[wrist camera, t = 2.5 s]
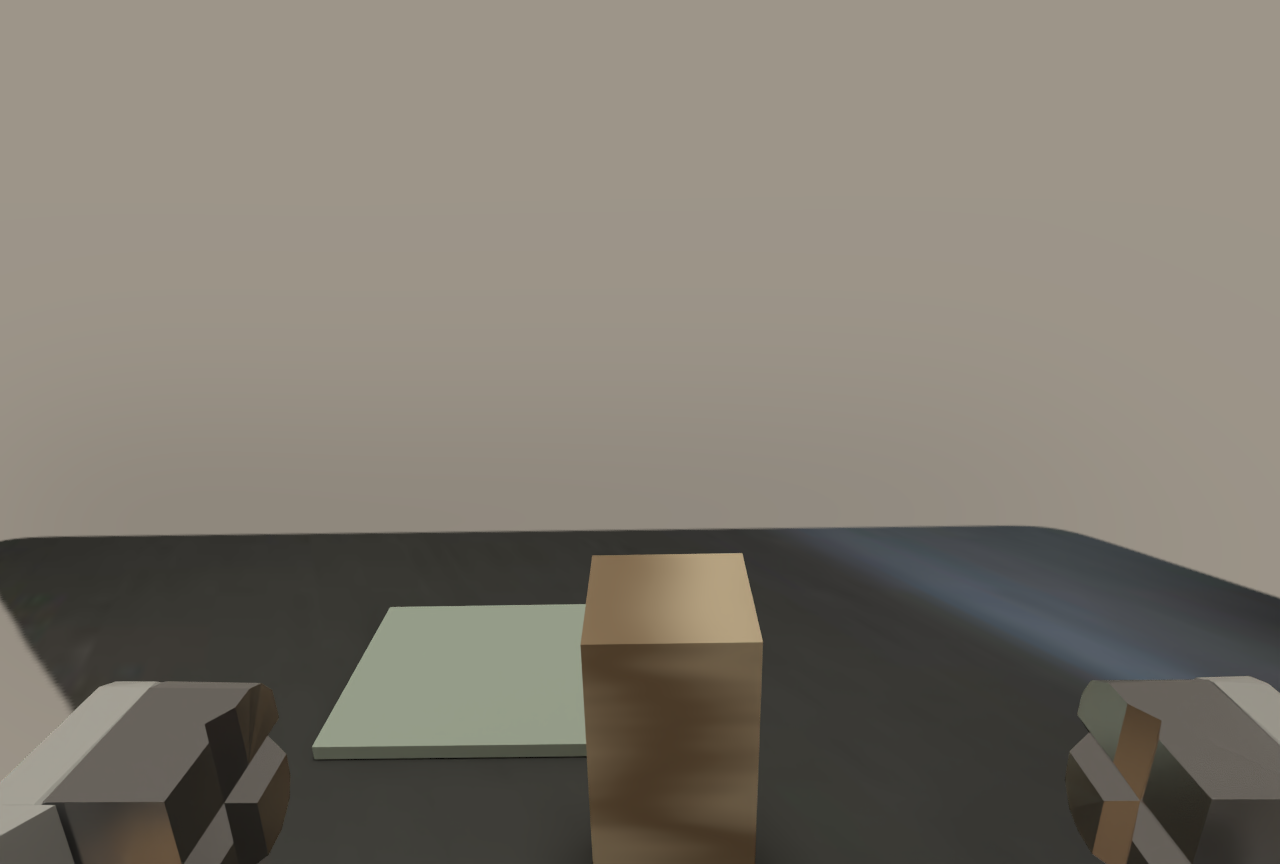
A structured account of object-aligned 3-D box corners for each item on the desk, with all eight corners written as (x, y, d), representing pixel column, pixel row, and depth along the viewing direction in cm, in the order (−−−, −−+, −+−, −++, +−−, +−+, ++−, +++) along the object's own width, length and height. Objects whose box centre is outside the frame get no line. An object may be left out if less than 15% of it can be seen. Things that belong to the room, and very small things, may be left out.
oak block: (735, 833, 27) (742, 553, 24) (751, 959, 23) (762, 642, 19) (606, 834, 27) (592, 555, 24) (598, 960, 23) (580, 644, 19)
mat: (663, 613, 40) (663, 603, 40) (667, 755, 31) (667, 743, 31) (391, 617, 40) (390, 607, 40) (314, 759, 31) (311, 747, 31)
